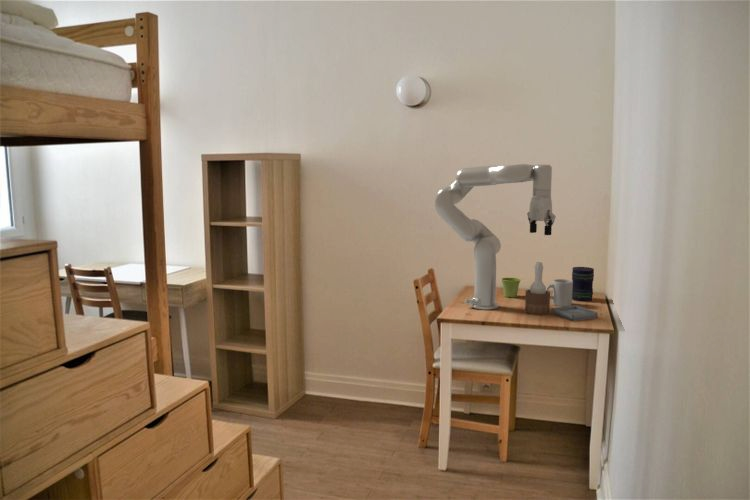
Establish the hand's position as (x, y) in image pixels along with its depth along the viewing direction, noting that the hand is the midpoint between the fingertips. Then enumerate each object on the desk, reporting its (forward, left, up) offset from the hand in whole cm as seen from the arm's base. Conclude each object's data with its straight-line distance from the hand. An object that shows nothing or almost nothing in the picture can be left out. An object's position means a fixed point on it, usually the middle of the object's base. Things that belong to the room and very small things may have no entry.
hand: (540, 233), depth 253 cm
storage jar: (+35, +12, -35) cm, 50 cm away
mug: (+18, +8, -35) cm, 40 cm away
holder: (0, 0, -34) cm, 34 cm away
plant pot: (+7, +30, -35) cm, 46 cm away
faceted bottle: (0, 0, -35) cm, 35 cm away
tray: (+10, -12, -34) cm, 38 cm away
